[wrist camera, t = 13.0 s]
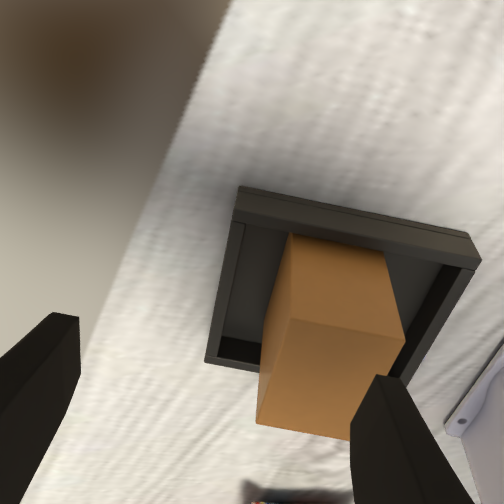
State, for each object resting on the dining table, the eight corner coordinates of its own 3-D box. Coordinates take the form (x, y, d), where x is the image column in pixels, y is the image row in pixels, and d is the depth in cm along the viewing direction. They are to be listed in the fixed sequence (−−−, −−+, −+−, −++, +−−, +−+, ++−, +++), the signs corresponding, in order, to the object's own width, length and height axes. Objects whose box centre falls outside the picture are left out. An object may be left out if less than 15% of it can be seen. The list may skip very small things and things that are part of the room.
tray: (392, 369, 26) (399, 400, 24) (209, 334, 26) (203, 363, 24) (468, 232, 21) (482, 259, 19) (238, 185, 20) (233, 208, 19)
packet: (381, 240, 21) (406, 341, 16) (340, 336, 24) (351, 442, 19) (291, 222, 21) (289, 318, 16) (263, 321, 24) (254, 424, 19)
